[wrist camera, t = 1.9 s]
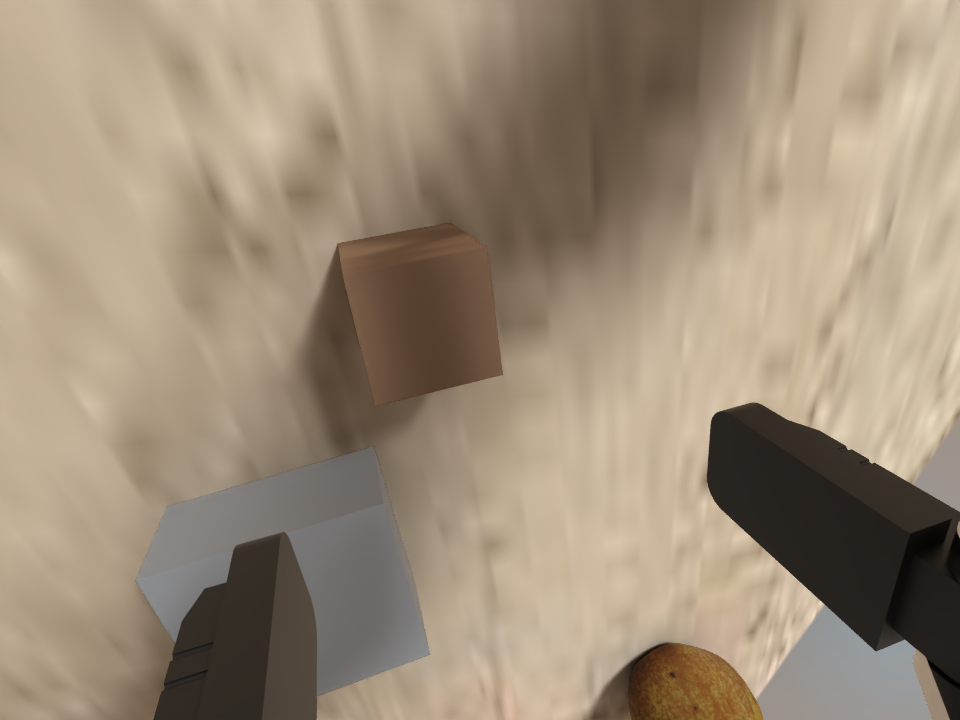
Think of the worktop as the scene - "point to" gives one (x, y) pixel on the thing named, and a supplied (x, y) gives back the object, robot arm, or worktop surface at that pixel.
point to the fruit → (688, 687)
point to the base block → (303, 560)
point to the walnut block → (421, 310)
